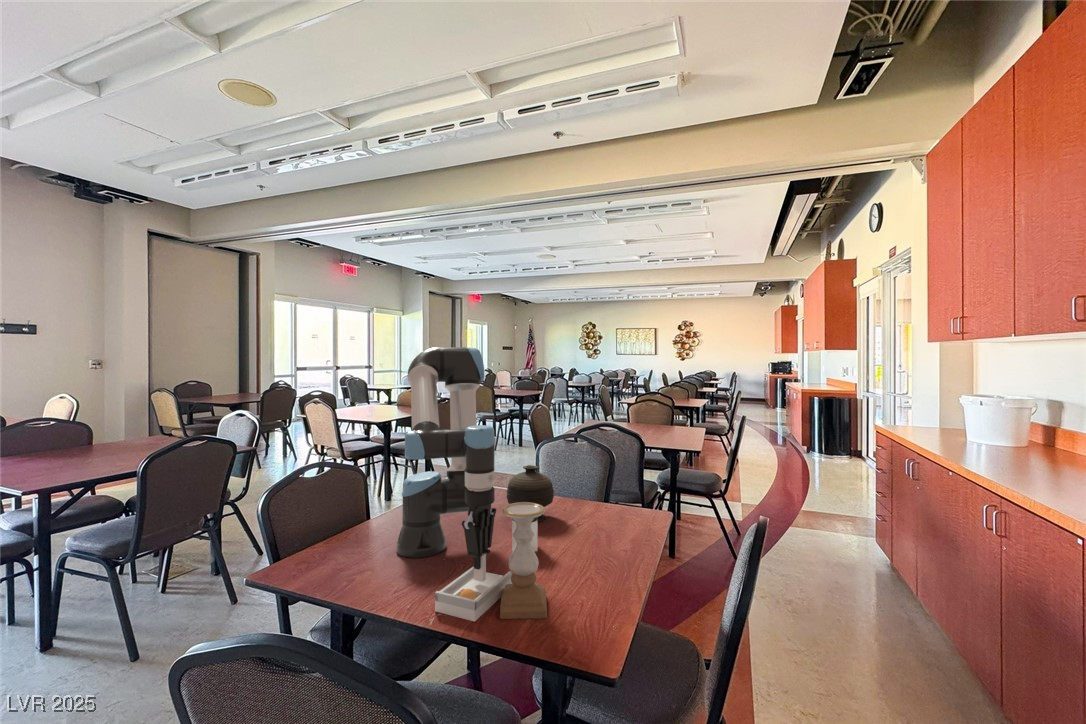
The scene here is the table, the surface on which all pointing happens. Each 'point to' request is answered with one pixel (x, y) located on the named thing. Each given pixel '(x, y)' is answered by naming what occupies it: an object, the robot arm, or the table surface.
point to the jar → (534, 540)
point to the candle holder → (523, 568)
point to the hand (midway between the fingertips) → (479, 579)
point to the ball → (468, 594)
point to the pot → (530, 488)
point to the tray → (465, 607)
